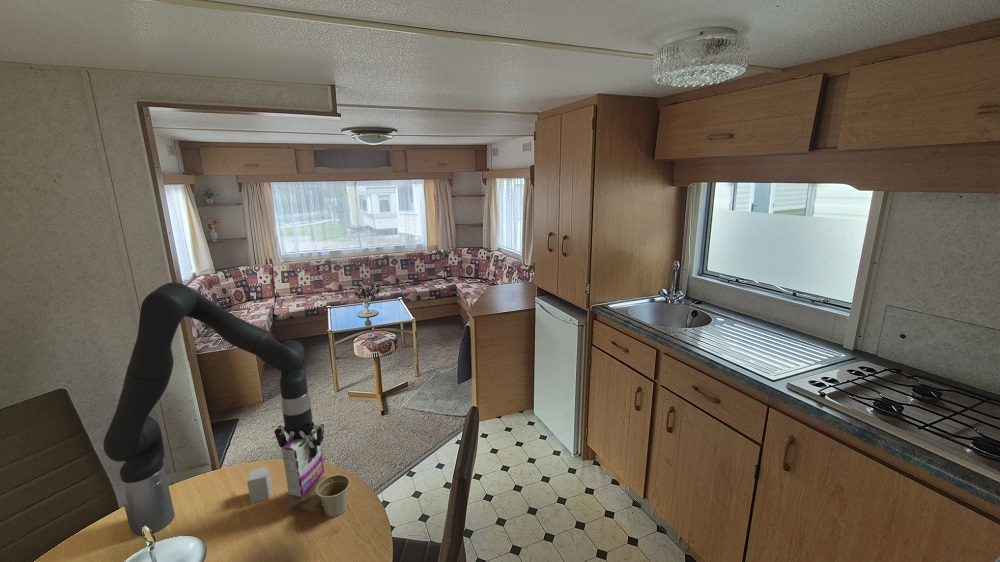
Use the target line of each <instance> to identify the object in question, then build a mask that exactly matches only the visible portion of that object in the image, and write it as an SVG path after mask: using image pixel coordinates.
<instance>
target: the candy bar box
mask: <svg viewBox="0 0 1000 562" xmlns="http://www.w3.org/2000/svg"><path fill="white" fill-rule="evenodd" d="M312 432H313V433H314V437H315V438H316V439H317V434H316V432H315V430H314V429H313V430H312ZM310 436H311V435H309V436H308V437H310ZM280 448H281V453H282V455H281V456H282V460H283V466H284V472H285V478H286V485H287V491H288V495H293V496H299V497H303V496H304V495H305V493H306V492H307V491H308V490H309V489H310V488H311V487H312V486H313V484H314V483H315V482H316V481H317V480H318V479H319V478H320V477H322V475H324V474H325V468H324V462H323V454H322V445H321V444H320V446H317V450H318V453H317V455H316V456H315V457H314V458H311V453H310V446H309V444H308V443H306V441H305V440H304V439H295V440H294V439H293V440H292V441H289V442H288V443H287V444H285V445H284V446H283V447H280Z"/></svg>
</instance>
